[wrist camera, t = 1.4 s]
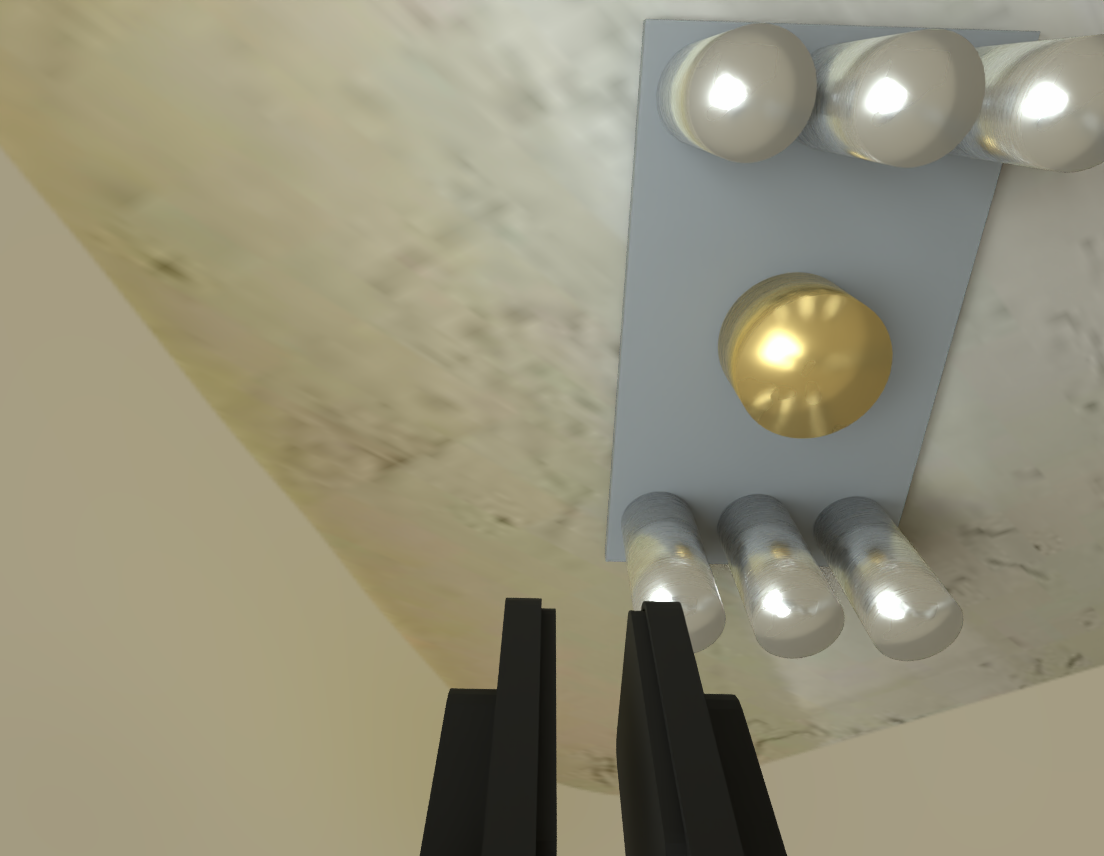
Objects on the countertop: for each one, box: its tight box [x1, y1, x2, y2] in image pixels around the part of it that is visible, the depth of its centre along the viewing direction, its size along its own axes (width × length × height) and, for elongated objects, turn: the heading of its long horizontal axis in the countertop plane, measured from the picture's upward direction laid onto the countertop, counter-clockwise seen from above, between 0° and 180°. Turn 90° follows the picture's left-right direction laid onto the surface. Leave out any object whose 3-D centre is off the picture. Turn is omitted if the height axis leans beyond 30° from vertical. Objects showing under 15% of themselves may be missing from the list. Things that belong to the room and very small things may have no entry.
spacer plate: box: [605, 19, 1040, 567], centre depth 26 cm, size 12×20×1 cm, turn 178°
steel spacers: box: [621, 23, 1104, 661], centre depth 23 cm, size 11×19×6 cm, turn 178°
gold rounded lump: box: [718, 272, 893, 439], centre depth 24 cm, size 5×5×3 cm
